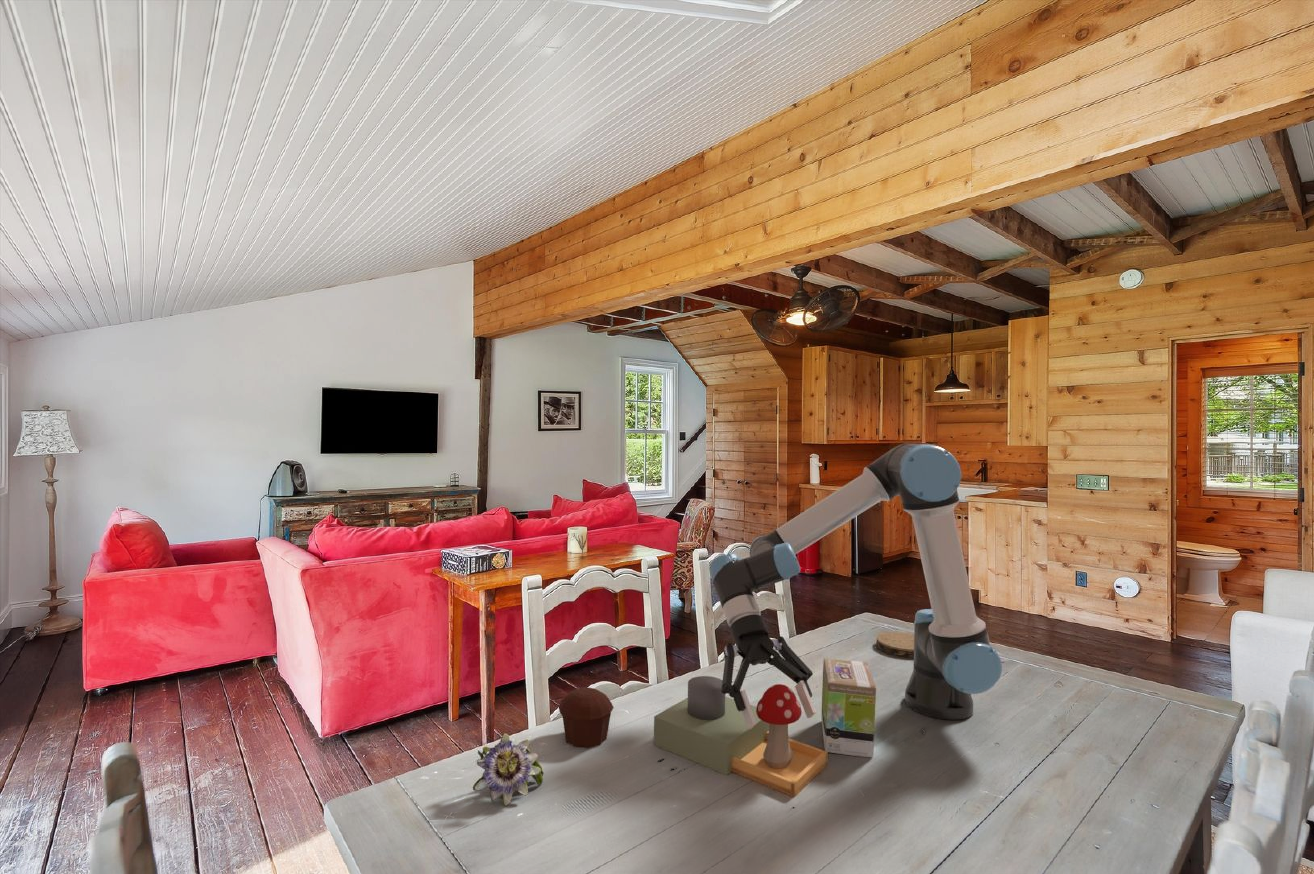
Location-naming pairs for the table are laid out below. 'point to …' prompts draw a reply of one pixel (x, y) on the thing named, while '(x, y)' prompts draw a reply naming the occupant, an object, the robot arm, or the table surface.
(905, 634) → the wood slice
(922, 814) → the table surface
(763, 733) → the green drawer box
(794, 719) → the decorative mushroom
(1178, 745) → the table surface
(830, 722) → the tea box
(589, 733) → the muffin
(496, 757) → the passion flower
